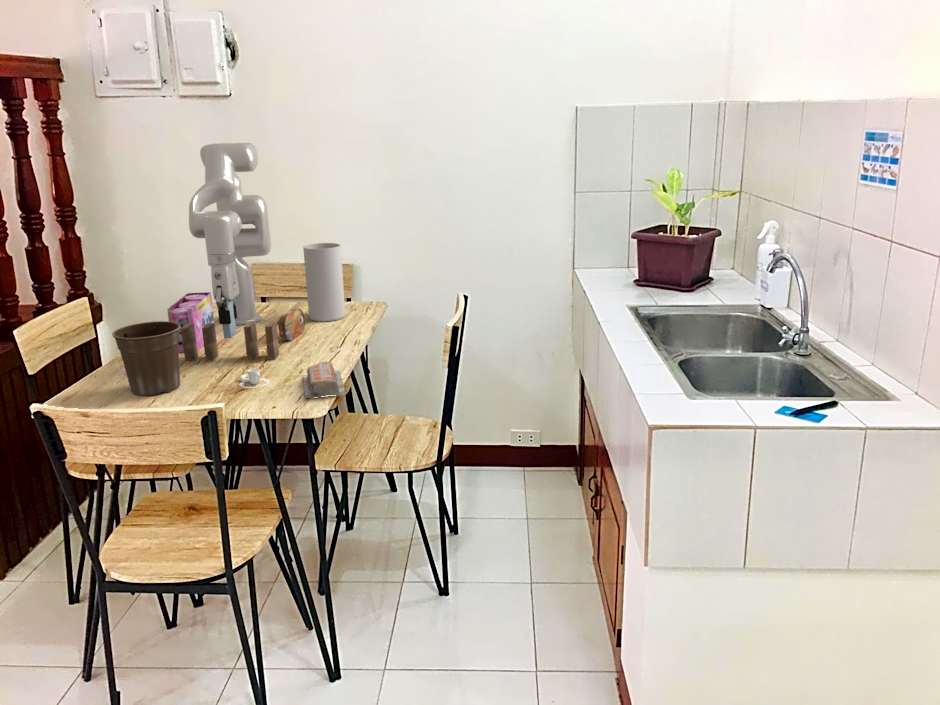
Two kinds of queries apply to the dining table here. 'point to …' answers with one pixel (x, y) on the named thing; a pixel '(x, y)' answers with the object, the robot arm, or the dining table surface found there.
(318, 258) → the cylinder vase
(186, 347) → the domino
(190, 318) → the gum box
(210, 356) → the domino
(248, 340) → the domino
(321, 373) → the packaged product
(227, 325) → the domino
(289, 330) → the tin
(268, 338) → the domino
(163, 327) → the plant pot
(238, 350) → the dining table surface
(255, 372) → the teacup and saucer
